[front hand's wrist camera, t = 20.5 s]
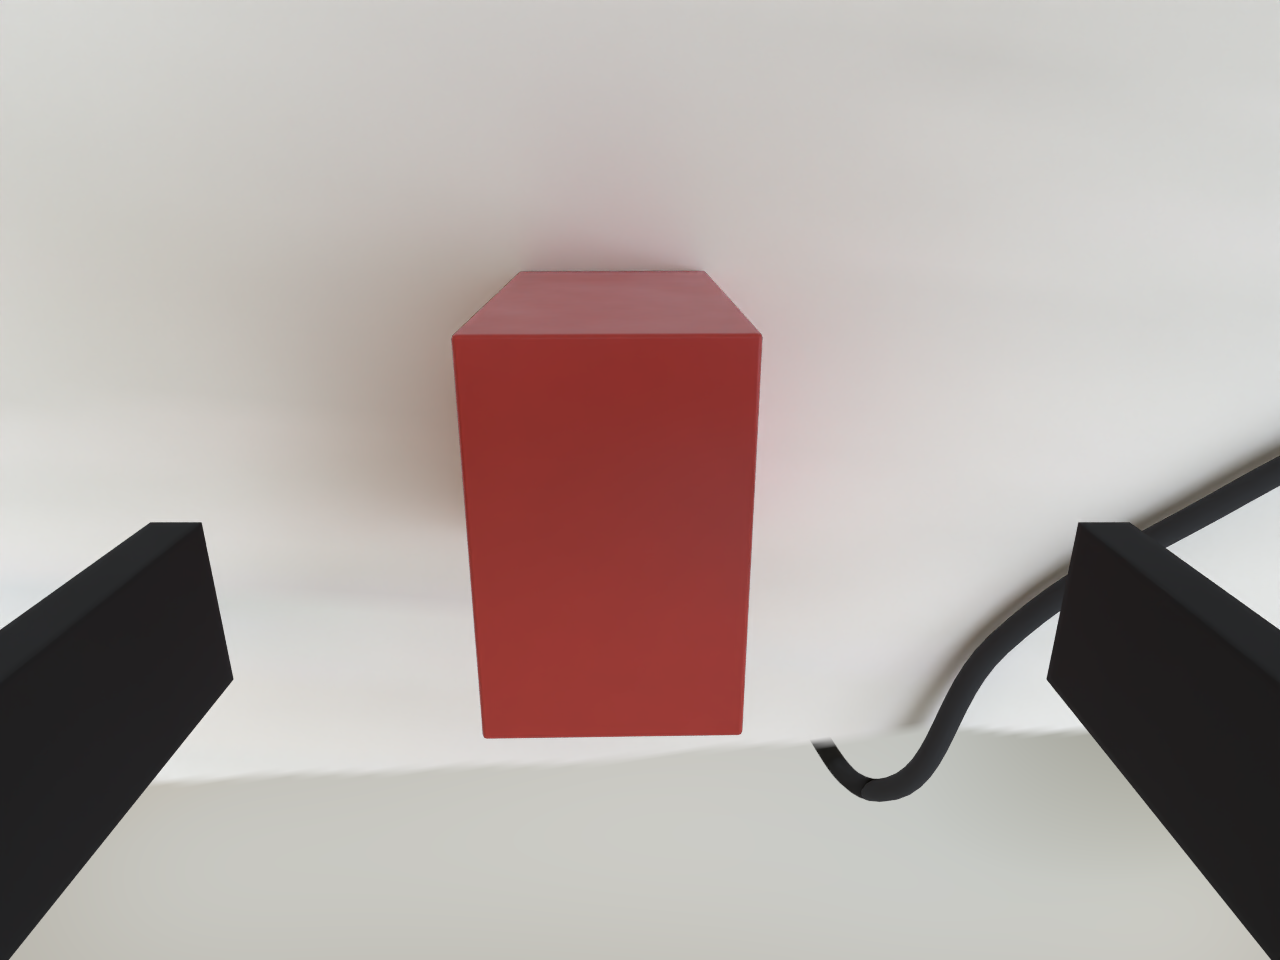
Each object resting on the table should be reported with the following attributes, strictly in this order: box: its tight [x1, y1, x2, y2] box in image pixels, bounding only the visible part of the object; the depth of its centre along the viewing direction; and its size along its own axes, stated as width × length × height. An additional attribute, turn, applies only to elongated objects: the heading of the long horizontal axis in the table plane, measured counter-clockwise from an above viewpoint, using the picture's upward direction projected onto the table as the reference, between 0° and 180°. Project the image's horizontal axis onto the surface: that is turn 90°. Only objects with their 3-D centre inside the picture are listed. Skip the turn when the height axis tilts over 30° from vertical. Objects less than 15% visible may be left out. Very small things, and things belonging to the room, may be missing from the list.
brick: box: [452, 271, 762, 739], centre depth 19 cm, size 5×8×9 cm, turn 0°
